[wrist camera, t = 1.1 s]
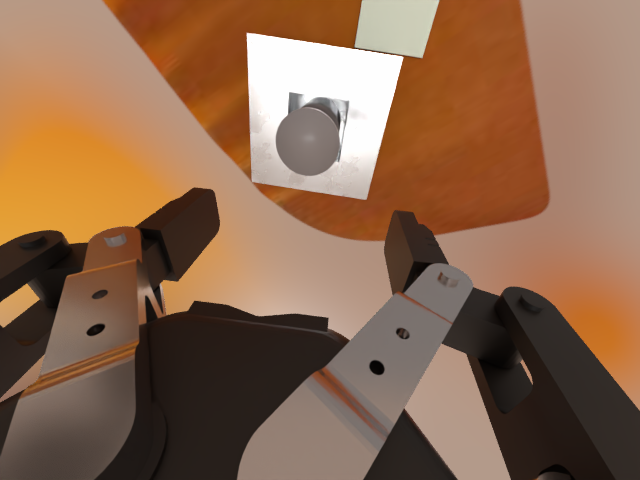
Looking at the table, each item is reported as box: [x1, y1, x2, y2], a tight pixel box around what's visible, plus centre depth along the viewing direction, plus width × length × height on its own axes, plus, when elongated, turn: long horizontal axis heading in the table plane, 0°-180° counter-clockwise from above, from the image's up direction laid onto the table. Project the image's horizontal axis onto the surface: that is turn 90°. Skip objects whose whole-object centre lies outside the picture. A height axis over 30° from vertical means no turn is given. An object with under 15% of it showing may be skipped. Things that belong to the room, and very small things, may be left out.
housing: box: [247, 33, 403, 200], centre depth 27 cm, size 13×13×7 cm
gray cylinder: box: [276, 97, 341, 176], centre depth 24 cm, size 5×5×11 cm
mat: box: [354, 0, 439, 58], centre depth 24 cm, size 7×7×1 cm
